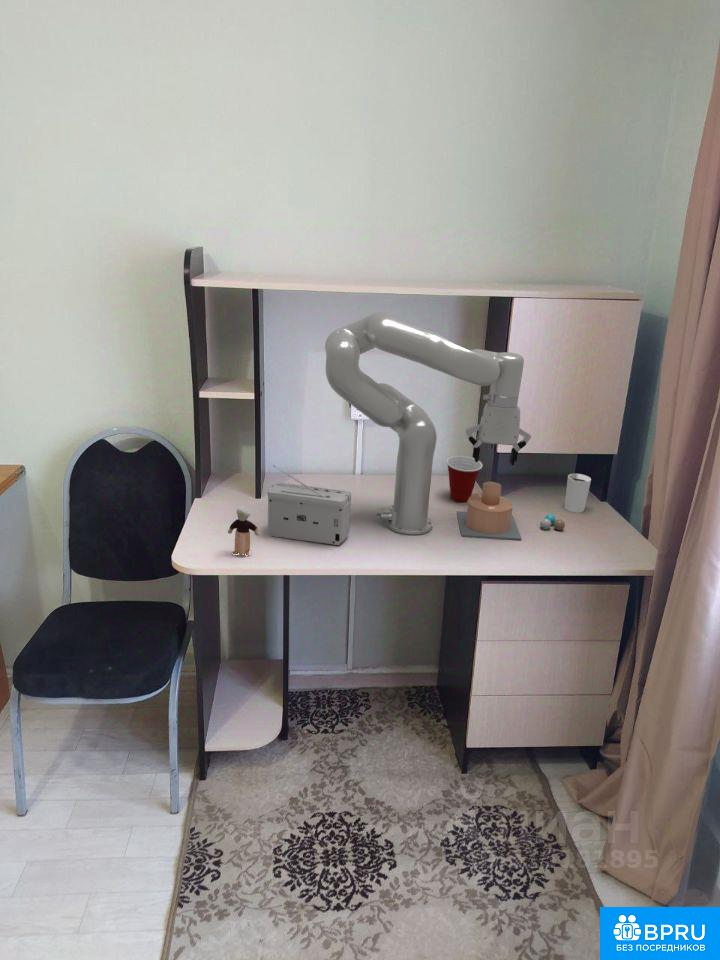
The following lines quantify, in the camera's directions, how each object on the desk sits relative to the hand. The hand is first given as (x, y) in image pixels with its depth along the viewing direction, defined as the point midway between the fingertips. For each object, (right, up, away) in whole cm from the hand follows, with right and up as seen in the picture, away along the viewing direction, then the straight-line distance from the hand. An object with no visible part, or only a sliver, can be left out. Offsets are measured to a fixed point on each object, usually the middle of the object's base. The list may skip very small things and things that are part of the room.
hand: (493, 462), depth 197 cm
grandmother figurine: (-65, -23, -16) cm, 71 cm away
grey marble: (+16, -19, +7) cm, 25 cm away
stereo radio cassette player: (-50, -20, -5) cm, 54 cm away
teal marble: (+18, -17, +10) cm, 27 cm away
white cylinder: (+28, -14, +22) cm, 38 cm away
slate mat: (0, -18, +7) cm, 19 cm away
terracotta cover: (-1, -17, +7) cm, 19 cm away
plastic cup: (-6, -11, +25) cm, 28 cm away
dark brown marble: (+19, -19, +7) cm, 28 cm away
